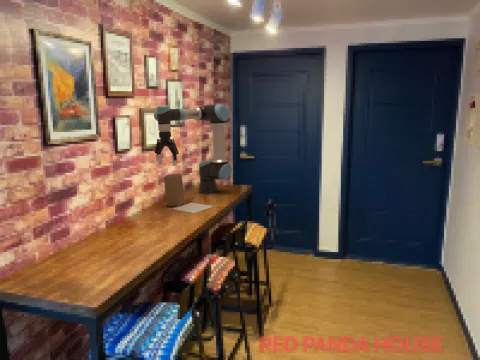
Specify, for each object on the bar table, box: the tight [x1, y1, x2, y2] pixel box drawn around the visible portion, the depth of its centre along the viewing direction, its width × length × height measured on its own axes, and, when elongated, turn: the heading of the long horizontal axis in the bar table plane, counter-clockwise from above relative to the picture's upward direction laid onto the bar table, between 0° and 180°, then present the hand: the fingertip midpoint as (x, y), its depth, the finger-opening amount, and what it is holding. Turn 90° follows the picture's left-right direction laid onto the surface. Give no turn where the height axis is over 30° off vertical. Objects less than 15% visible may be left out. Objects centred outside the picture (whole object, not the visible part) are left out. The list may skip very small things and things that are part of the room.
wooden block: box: [163, 173, 186, 207], centre depth 244 cm, size 10×10×20 cm
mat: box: [171, 202, 215, 215], centre depth 236 cm, size 18×20×1 cm
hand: (167, 165), depth 233 cm, fingers open, 13 cm apart
